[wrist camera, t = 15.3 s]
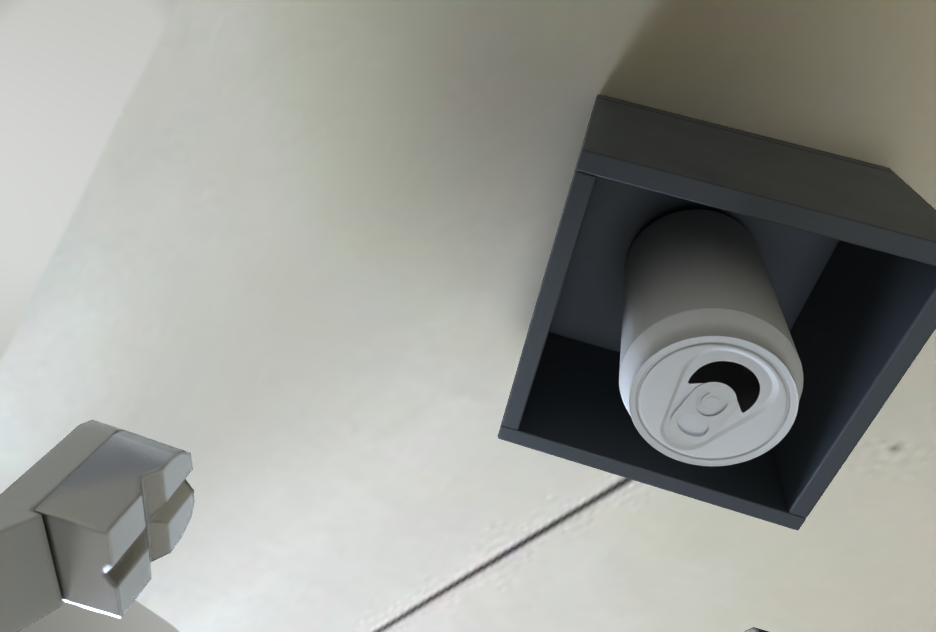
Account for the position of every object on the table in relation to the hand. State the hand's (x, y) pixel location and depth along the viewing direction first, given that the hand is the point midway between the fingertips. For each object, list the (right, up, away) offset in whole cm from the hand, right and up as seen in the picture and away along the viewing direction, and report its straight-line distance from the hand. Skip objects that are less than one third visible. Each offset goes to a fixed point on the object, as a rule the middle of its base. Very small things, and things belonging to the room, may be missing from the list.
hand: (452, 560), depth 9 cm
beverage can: (+11, +6, +24) cm, 27 cm away
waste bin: (+12, +6, +25) cm, 28 cm away
